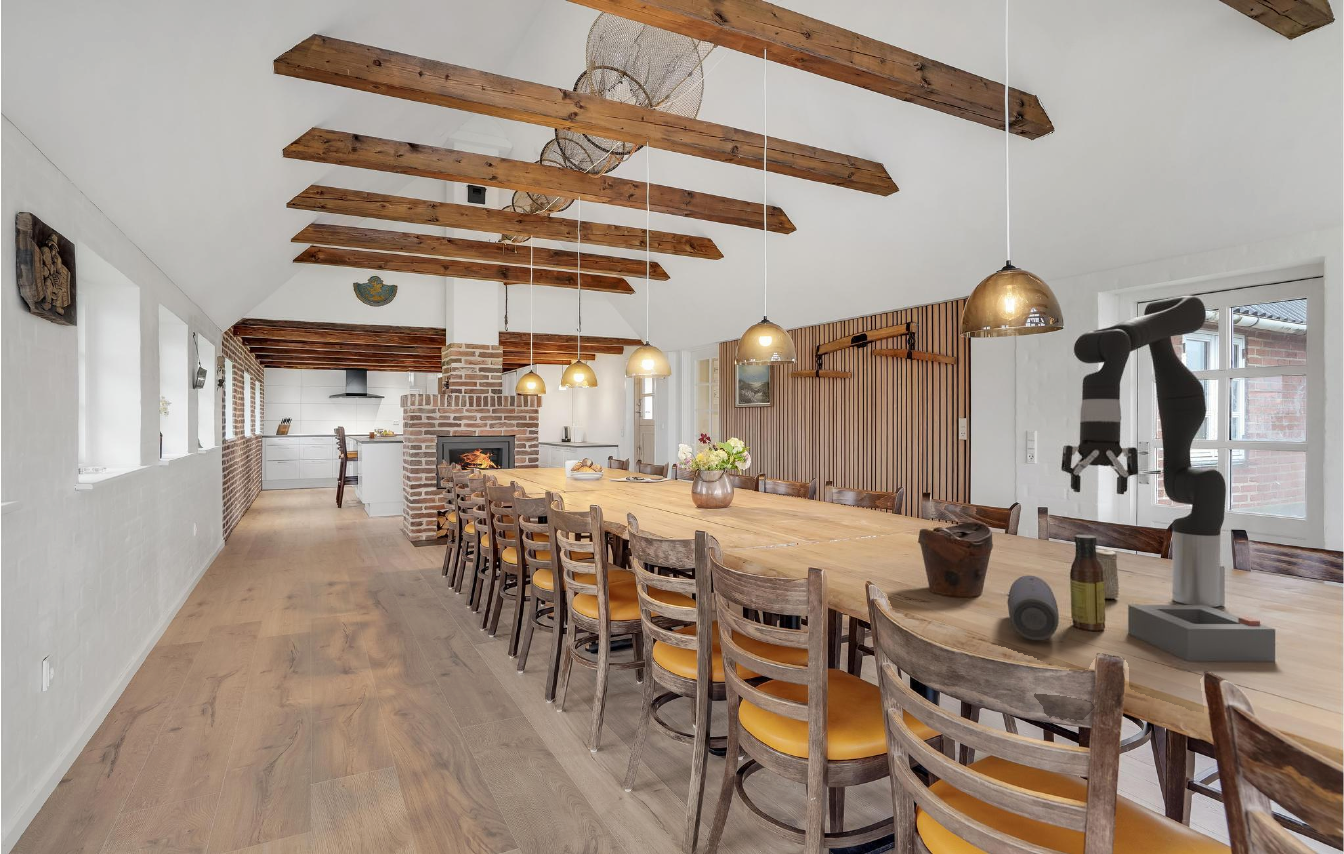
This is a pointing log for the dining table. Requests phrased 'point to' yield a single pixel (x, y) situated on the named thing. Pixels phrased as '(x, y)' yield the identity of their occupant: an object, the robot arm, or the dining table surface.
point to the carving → (1109, 572)
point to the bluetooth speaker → (1033, 608)
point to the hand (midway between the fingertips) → (1098, 493)
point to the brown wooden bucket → (956, 558)
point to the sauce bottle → (1087, 586)
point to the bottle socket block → (1202, 633)
